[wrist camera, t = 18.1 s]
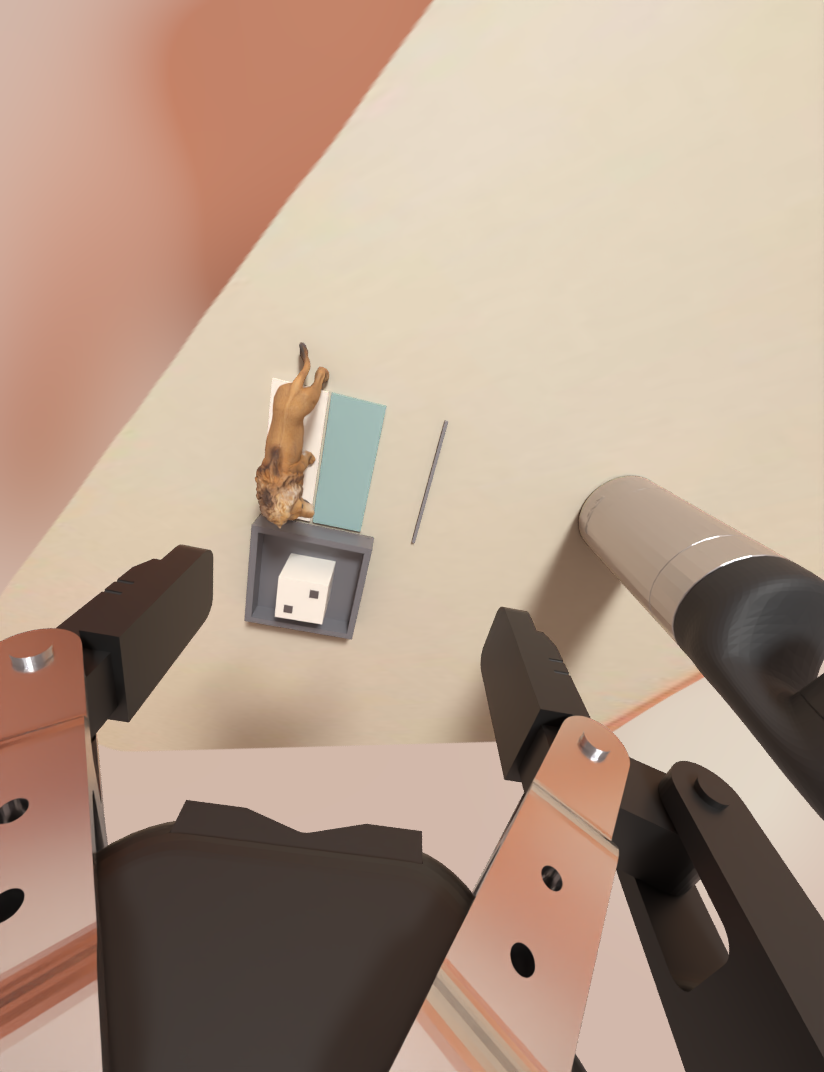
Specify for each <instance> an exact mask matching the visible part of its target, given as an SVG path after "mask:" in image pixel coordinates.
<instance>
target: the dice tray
mask: <svg viewBox="0 0 824 1072" xmlns="http://www.w3.org/2000/svg"><path fill="white" fill-rule="evenodd" d="M373 540H374V538H373V537H369V536H364V535H359V534H354V533H349V532H344V531H340V530H335V529H330V528H325V527H320V526H315V525H310V524H306V523H301V522H296V521H291V520H287V522H286V523H285V524H284V525H282V526H281V528H278V526H277V525H276V524H274V523H272V522H270V521H268V520H267V518H266V517H265V516H262V514H260V515H259V517H258V518H257V519H256V520H255V522H254V523H253V524H252V528H251V541H250V555H249V568H248V581H247V595H246V608H245V621H248V622H253V623H259V624H265V625H271V626H277V627H282V628H288V629H294V630H300V631H306V632H311V633H317V634H323V635H329V636H334V637H340V638H346V639H352V636H353V632H354V627H355V623H356V619H357V614H358V610H359V605H360V601H361V596H362V592H363V588H364V583H365V579H366V574H367V570H368V566H369V561H370V557H371V552H372V547H373ZM291 553H293V554H299V555H304V556H309V557H315V558H320V559H326V560H331V561H336V563H335V569H334V575H333V581H332V587H331V593H330V598H329V602H328V605H327V609H326V612H325V616H324V620H323V623H322V624H316V623H310V622H304V621H298V620H292V619H286V618H280V617H275V608H276V598H277V588H278V578H279V575H280V573H281V571H282V570H283V568H284V566H285V564H286V562H287V560H288V558H289V556H290V554H291Z"/></svg>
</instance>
